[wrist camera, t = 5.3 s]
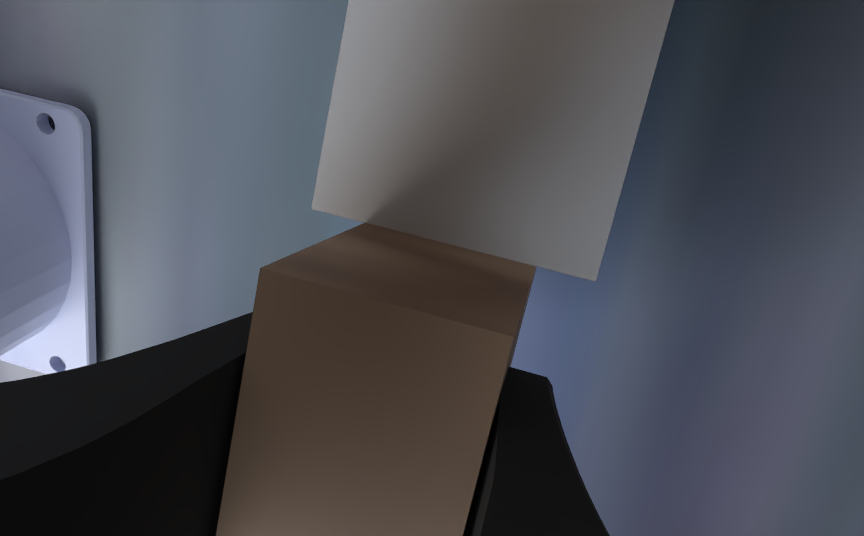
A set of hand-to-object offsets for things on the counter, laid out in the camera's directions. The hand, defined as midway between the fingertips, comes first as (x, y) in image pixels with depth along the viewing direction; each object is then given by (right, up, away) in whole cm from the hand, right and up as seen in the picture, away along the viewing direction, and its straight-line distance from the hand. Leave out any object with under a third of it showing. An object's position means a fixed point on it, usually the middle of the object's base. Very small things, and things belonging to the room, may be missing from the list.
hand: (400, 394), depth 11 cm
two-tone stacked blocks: (+1, +4, +1) cm, 5 cm away
